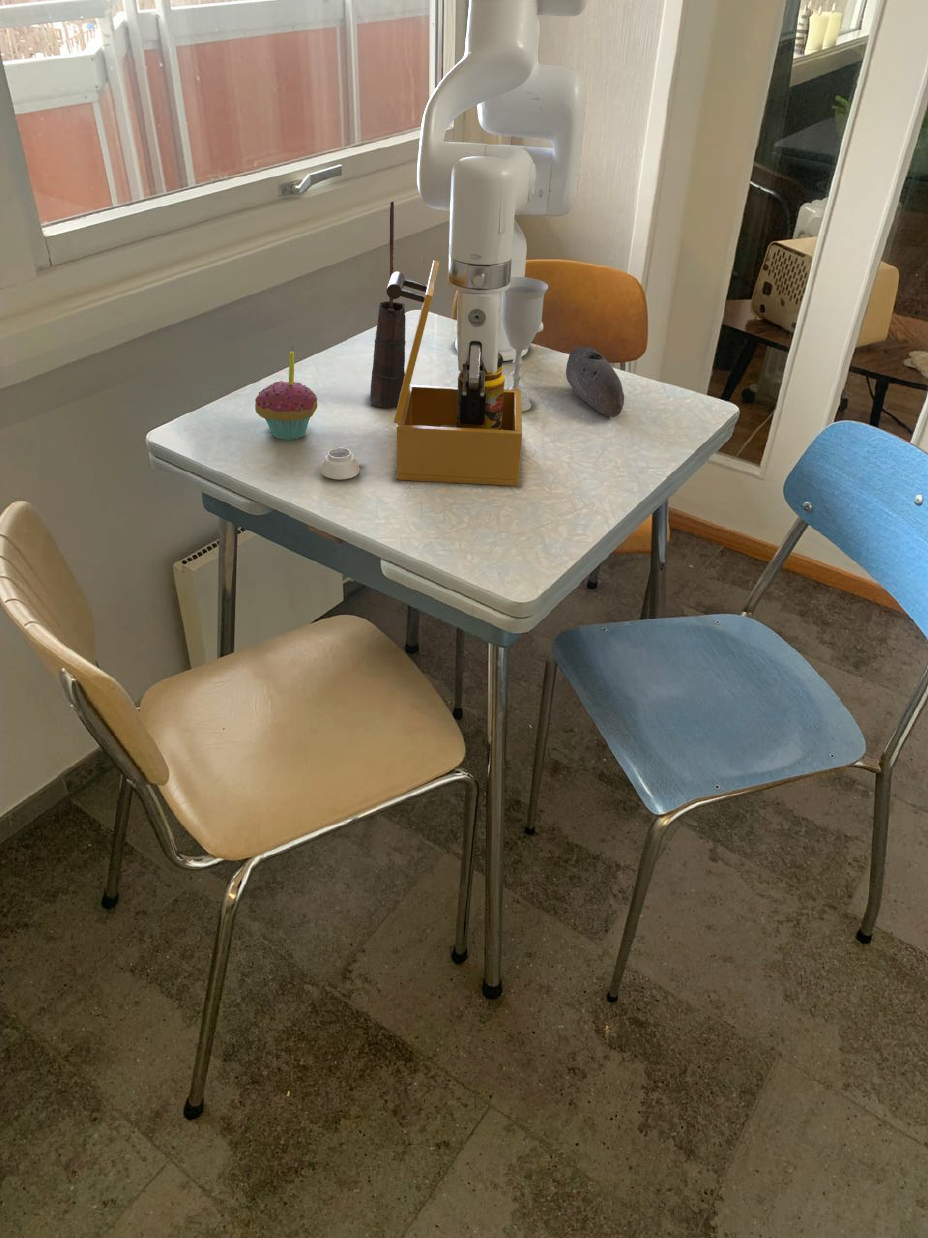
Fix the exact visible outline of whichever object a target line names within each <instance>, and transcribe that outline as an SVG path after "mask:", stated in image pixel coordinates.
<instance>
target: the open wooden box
mask: <svg viewBox="0 0 928 1238" xmlns="http://www.w3.org/2000/svg"><path fill="white" fill-rule="evenodd" d="M457 395H458V386H450V385H449V386H447V385H431V384H430V385H429V384H413V383H410V387H409V391H408V394H407V398H406V402H405V406H404V410H403V414H402V418H401V422H400V424H396V480H398V481H416V482H435V483H452V484H454V483H455V484H472V485H473V484H475V485H492V486H508V487H509V486H511V487H512V486H513V487H518V486H519V479H520V478H519V477H520V468H521V467H520V466H521V453H522V443H523V442H522V441H523V413H522V412H523V411H522V407H521V390H508V389H507V388H504V396H503V411H502V412H503V413H502V425H501V429H503V430H492V429H473V428H454V427H442V425H451V426H456V422H457V420H456V417H457Z"/></svg>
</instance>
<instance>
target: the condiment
mask: <svg viewBox="0 0 928 1238" xmlns="http://www.w3.org/2000/svg"><path fill="white" fill-rule="evenodd" d="M470 350H471V349H470ZM480 353H481V348H480ZM503 365H504V361H503V357H502V355H501V354H500V353H499V352H498V363H497V372H496V373H495V374H494V375H492V373H487V371H486V370H485V372H486V375H485V388H484V394H486V406H485V423H484V424H483V425H471V424H461V423H460V400H461V393H463V373H462V372H460V371H459V373H458V377H457V387H458V395H457V417H456V420H457V422H456V426H451V425H442V427H454V428H473V429H492V430H503V429H501V425H502V413H503V412H502V411H503V396H504V389H505V381H506V380H505V376H504V374H503V371H504V368H503V367H504V366H503ZM469 368H470V365H467V370H469ZM463 371H464V370H463ZM479 371H483V366H479ZM467 380H469V375H468V378H467ZM479 380H480V382H481V376H479Z"/></svg>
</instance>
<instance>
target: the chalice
mask: <svg viewBox="0 0 928 1238" xmlns="http://www.w3.org/2000/svg"><path fill="white" fill-rule="evenodd" d="M548 289H549V285H548V284H547V283H546V282H545V281H543V280H540V279H538V278H533V277H527V276H525V277H510V287H509V289H507V290H506V291H503V295H502V311H501V321H502V325H503V329H504V332H505V335H506V337H507V340H508V343H509V345H510V347H511V348H513V349H515V353H516V355H515V358H514V359H513V360H512V363H513V368H514V369H513V371H512V372H511V373H510V374H511V376H512V379H513V382H512V384H511V386H509V387H507V388H506V389H508V390H521V407H522V412H525V411H528V410H530V409H531V407H532V404H531V402H530V398H529V396H528V392H527V391H526V389H525V388H522V386H521V384H520V381H521V377H522V376H523V375H524V374H523V373H522V370H521V368H522V365H524V361H523V356H521V354H522V351H523V350H525V349H527V348H528V349H529V347H530V346H531V344H532V342H533V340H534V339H535V337H536V336H537V334H538V332H537V331H538V329H539V326H540V324H541V321H542V320H543V307H544V298H545V294H546V293H547V291H548ZM542 322H543V321H542Z"/></svg>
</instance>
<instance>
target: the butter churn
mask: <svg viewBox="0 0 928 1238" xmlns="http://www.w3.org/2000/svg"><path fill="white" fill-rule="evenodd" d="M394 220H395V202H394V201H390V204H389V279H390V278H391V275H392V274H393V273H394V247H395V246H394V240H395V236H394V232H395V231H394V229H395V221H394ZM388 298H389V300H387V301H386V300H385V301H381V302H379V304H378V305H379V306H378V314H377V323H376V330H375V339H374V349H373V363H372V370H371V379H370V391H369V392H370V393H369V394H370V395H369V401H370V404H372V405H373V406H375V407H378V408H383V409H390V408H392V407H397V406H398V402H399V398H400V393H401V389H402V385H403V380H404V376H405V372H406V370H405V365H406V364H405V363H406V314H405V313H406V307H405V303H404V302H403V303H402V302H398V301H394V299H391V298H390V297H388Z"/></svg>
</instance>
